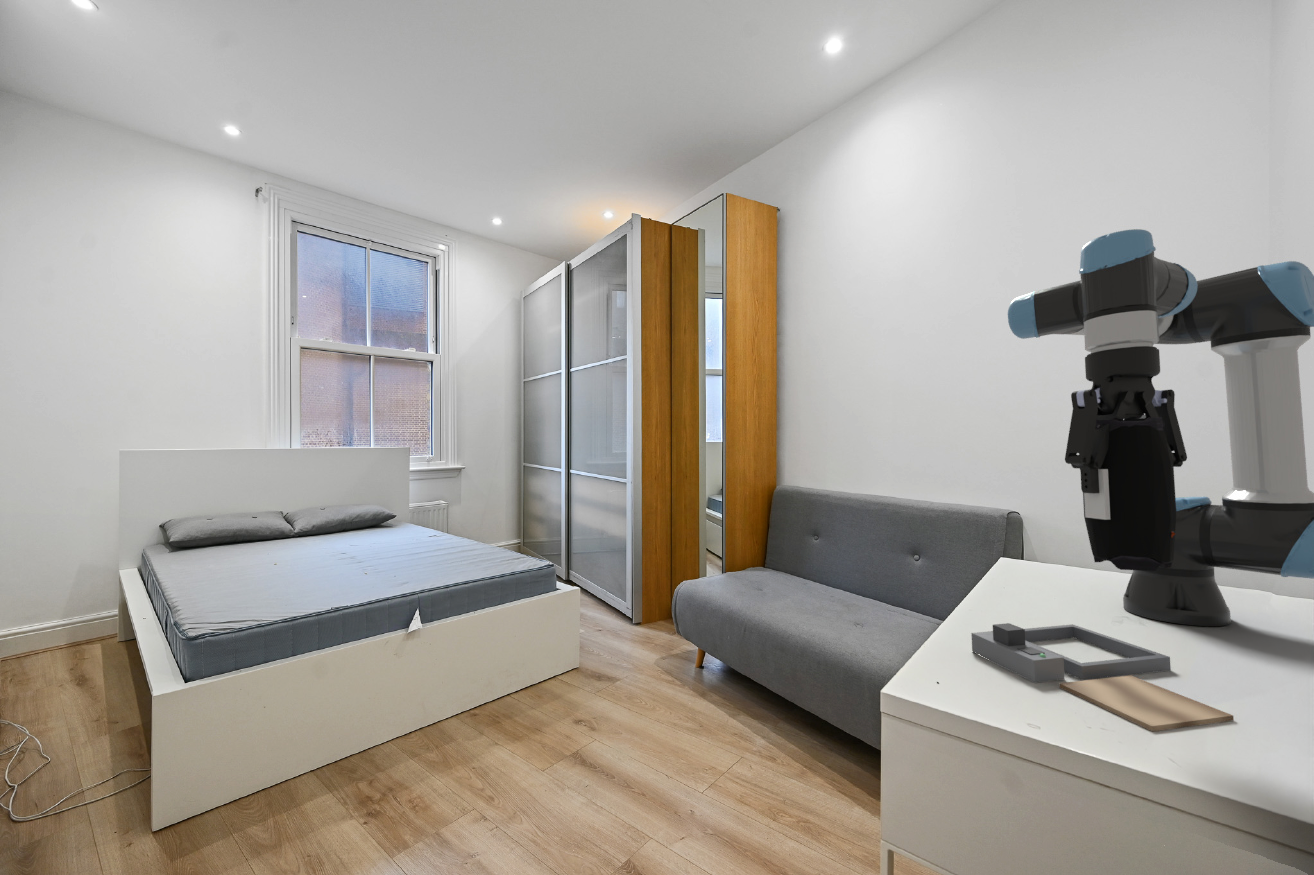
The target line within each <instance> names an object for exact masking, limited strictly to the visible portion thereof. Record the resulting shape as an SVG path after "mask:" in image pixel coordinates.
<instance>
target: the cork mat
mask: <svg viewBox="0 0 1314 875" xmlns="http://www.w3.org/2000/svg"><path fill="white" fill-rule="evenodd" d="M1058 684H1059V685H1058V686H1059V688H1060V689H1061V690H1064V691H1065V692H1068V693H1070V694H1073V695H1075V696H1077V697H1079V698H1081V699H1083V700H1085V701H1087V702H1090V703H1092V704H1093V705H1095V706H1097V707H1100V708H1102V709H1104V710H1106V711H1108V712H1110V713H1112V714H1114V715H1116V716H1119V717H1121V718H1123V719H1124V720H1127V721H1129V722H1130V723H1131V722H1132V723H1134V724H1136V725H1138V726H1139V727H1142V728H1144V729H1147V730H1149V731H1150V732H1159V731H1164V730H1166V731H1167V730H1173V729H1174V730H1175V729H1180V728H1188V727H1194V726H1203V725H1211V724H1218V723H1224V722H1232V721H1231V720H1233V721H1234V715H1233V714H1231V713H1228V712H1225V711H1223V710H1220V709H1218V708H1215V707H1212V706H1210V705H1207V704H1205V703H1202V702H1200V701H1197V700H1195V699H1192V698H1190V697H1187V696H1185V695H1182V694H1180V693H1177V692H1175V691H1172V690H1169V689H1166V688H1164V687H1161V686H1159V685H1156V684H1154V683H1151V682H1149V681H1146V680H1143V679H1140V678H1138V677H1135V676H1134V675H1125V676H1116V677H1107V678H1098V679H1089V680H1078V681H1067V682H1066V681H1065V682H1059V683H1058Z"/></svg>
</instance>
